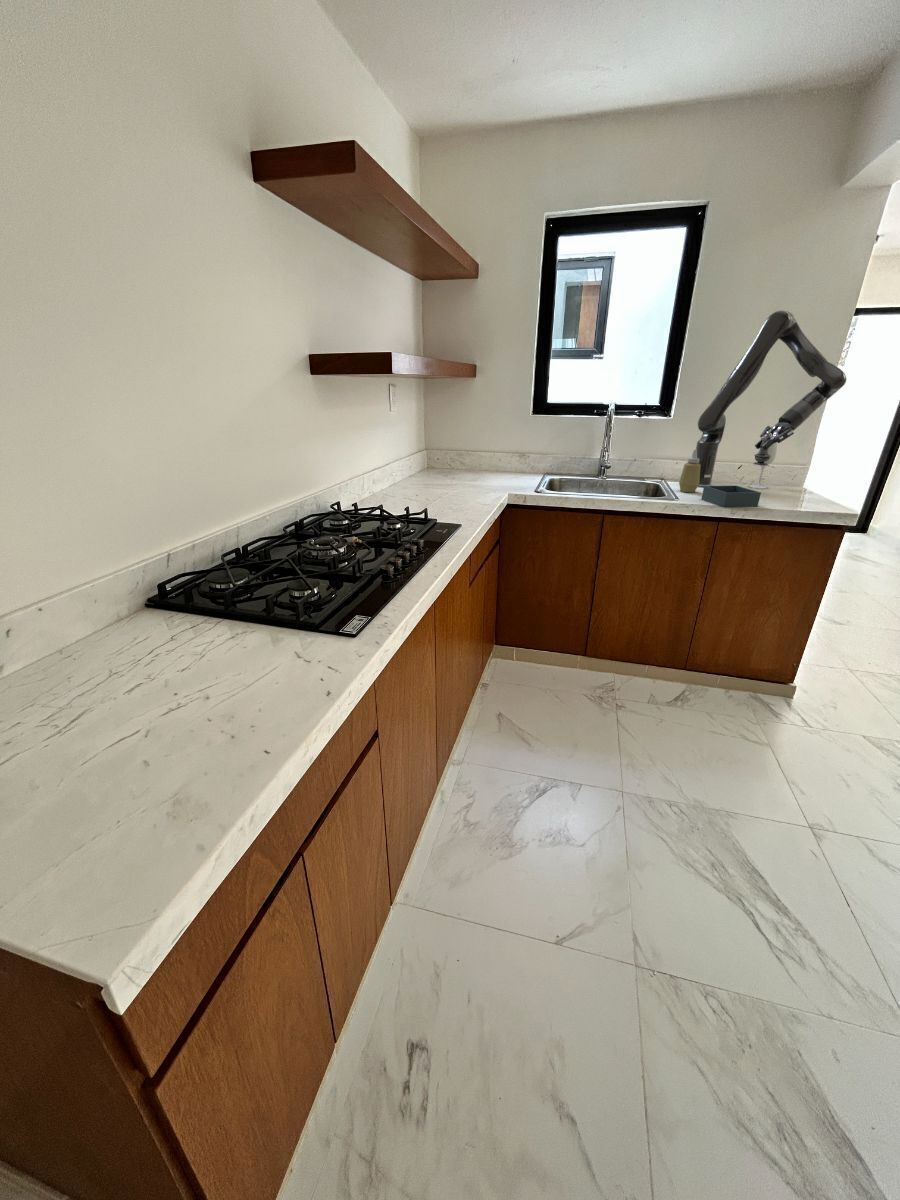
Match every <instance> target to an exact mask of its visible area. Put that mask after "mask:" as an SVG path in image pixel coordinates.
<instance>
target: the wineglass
mask: <svg viewBox="0 0 900 1200" xmlns="http://www.w3.org/2000/svg"><path fill="white" fill-rule="evenodd" d="M777 450H778V442H776V443H775V444H772V445H771V446H770V447H769V449H768V454H769V455H771V457H770V458H769V460H768V461H766V462H764V463H767V464H768V465H759V466H760V467H761V470H760V475H759V478H758V481H757V483H756V484H753V485H751V484H750V485H749V488H750V489H751V488H752V489H760V490H766V489H768V487H767V486H765V485H762V483H761V481H762V477H763V473H764V469H765V468H766V467H768V466H769V465H770V464H772V463H773V462H774V461H775V459H776V457H777V452H778V451H777ZM759 451H760V448H759V449H757V452H756V454H758V452H759ZM756 462H758V461H756Z"/></svg>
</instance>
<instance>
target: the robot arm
mask: <svg viewBox="0 0 900 1200" xmlns="http://www.w3.org/2000/svg"><path fill="white" fill-rule="evenodd" d="M778 340H780V341H781V342H782V343H784V344H785V345H786V347H788V349H789V350H790V351H791V353H792V354H793V356H794V358H795V360H796V361H797V363H798V365H800V367H801V368H802V369H803V370H804V372H806V373H807V375H808V376H810V377H811V378H818V379H820V380H821V381H820V382H819V383H818V384H817V385H816V386H815V387H814V388H813V389H812V390H811V391H809V392H808V393H806V394H805V395H804V396H803V397H802V398H801V399H800V400H798V401H797V402H796V403H794V404H793V405H792V406H791V407H789V409H787V410H786V411H785V412H784V413H783V414H781V416H780V417H778V421H777V423H775V424H774V425H773V426H770V425H767V426H766V427H765V428H764V430H763V431H762V432H761V433H760V435H759V438H760V439H759V440H758V441H757V442H756V443H755V444H754V447H755V449H756V450H758V449H759V448H760V447H761V446H760V445H761V443H762V439H763V437H764V436H767V434H769V435H768V436H770V437H771V440H768V441H767V442H766V443H765V444H764V445H763V446H762V448H763V450H767V449H768V448H769V447H770V446H771V445H772V444H775V443H776V442H777V444H780V443H782V442H783V441H786V440H787V439H788V438H790V437H791V436H793V435H794V434H795V432H794V431H795V430H797V428H799V427H800V426H802V424H803V423H804V422H806V421H807V420H808V419H809V418H810V417H811V415H813V414H814V413H815V412H816V411H817V410H818V409H819V408H820V407H821V406H822V405H823V404H825V402H826V401H828V400H830V398H831V397H832V396H834V395H835V394H836V393H838V391H839V390H841V389H842V388H843V387H844V386H845V385H846V383H847V375H846V373H845V372H844V371H843V370H842V369H841V368H840V367H838V366H837V365H835V364H833V362H829V360H828V359H827V358H826V357H825V356H824V354H823V353H822V352H821V351H820V350H819V349H818V348H817V347H816V346H815V344H813V343H812V342H811V340H810V339H809V338H808V337H807V336H806V335H805V333H804V331H803V330H802V329H801V327H800V325H799V324H798V322H797V320H796V318H795V316H794V314H793V313H792V312H790V311H788V310H776V311H774V312H773V313H771V314H769V315H768V317H766V320H764V323H763V324H762V326H761V328H760V330H759V332H758V333H757V335H756V337H755V339H754V340H753V341H752V343H751V345H750V346H749V348H748V349H747V351H746V352H745V353H744V354H743V356H742V357H741V359H740V360H739V361H738V363H737V364H736V366H735V367H734V369H733V370H732V371H731V373H730V375H729V376H728V377H727V379H726V381H725V382H724V384H723V385H722V386H721V388H720V389H719V391H718V392H717V394H716V396H715V398H714V399H713V400H712V401H711V402H710V404H709V405H708V406H707V407H706V408H705V410H704V411H703V412H702V413H701V415H700V416H699V418H698V421H697V428H698V430H699V432H701V437H700V438H699V439H698V440H697V441H696V445H695V450H697V458H698V459H699V463H698V464H700V465H701V467H700V479H699V485H698V487H702V488H704V486H712V480H713V475H714V470H715V465H716V460H717V455H718V450H719V447H720V444H721V442H722V439H723V435H724V431H725V428H726V422H727V419H726V414H725V412H726V411H727V410H728V408H729V407H730V406H731V405H732V404H733V403H734V402H735V401H736V400H737V399H738V398H739V397H741V396H742V395H743V394H744V393H745V392H746V391H747V390H748V388H749V387H750V386H751V384H752V383H753V382H754V380H755V379H756V377H757V376H758V374H759V373H760V371H761V369H762V367H763V364H764V362H765V359H766V358H767V355H768V354H769V352H770V351H771V349H772V348H773V347H774V345H775V344H776V343H777V342H778Z"/></svg>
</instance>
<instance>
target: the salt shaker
mask: <svg viewBox="0 0 900 1200" xmlns="http://www.w3.org/2000/svg"><path fill="white" fill-rule="evenodd" d="M768 435H769V434H767V436H764V437H763V439H762V443H761V445H760V446H761V447H760V451H759V452H758V454H757V453H756V454H754V460H755V462H753V463H752V465H755V466H760V465H767V466H769V465H768V464H767V463H764V462H766V461H768V460H769V458H770V457H771V455H769V454H768V449H769V448H768V449H767V450H763V448H762V446H763V445H764V444H765V443H766V442H767V441H768V440H771V437H770V436H768ZM757 461H758V462H757Z"/></svg>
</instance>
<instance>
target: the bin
mask: <svg viewBox="0 0 900 1200" xmlns="http://www.w3.org/2000/svg"><path fill="white" fill-rule="evenodd" d="M761 494H762V491H761V492H760V491H758V490H754V489H751V488H746V487H743V486H739V485H711V486H704V487H703V489H702V495H701V500H703V501H705V502H708V503H710V504H713V505H716V506H719V507H722V508H749V507H750V508H751V507H752V508H753V507H754V508H755V507H759V502H760V498H761Z"/></svg>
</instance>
